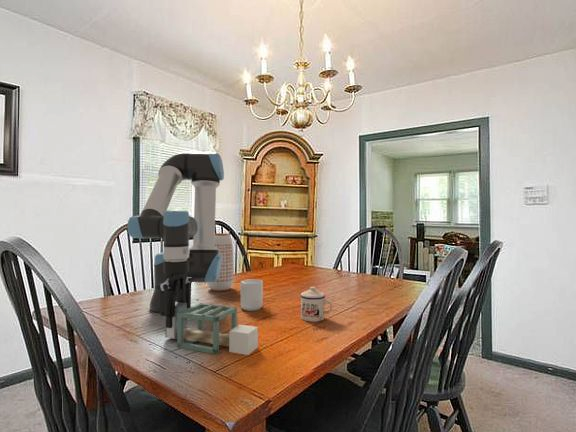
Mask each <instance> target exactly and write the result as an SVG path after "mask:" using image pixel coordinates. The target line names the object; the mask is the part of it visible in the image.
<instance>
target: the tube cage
mask: <svg viewBox="0 0 576 432" xmlns="http://www.w3.org/2000/svg"><path fill="white" fill-rule="evenodd" d="M230 315H231V316H230ZM229 316H230V317H231V321H230V322H231V325H230V326H231V330H232V329H233V328H235V327H237V326H238V308H237V306H229V305H219V304H212V303H202V302H200V303H197V304H195V305H192V306H191V307H190V308H187V309H185V310H182V311H180V312H178V313H177V339H176V340H177V347H176V348H177V349H178V348H179V349H185V350H191V351H196V352H201V353H208V354H214V355H218V354H219V353H220V345H219V333H220V321H221V320H223V319H225V318H226V317H227V318H228V317H229ZM183 317H184V318H187V319H193V320H197V330H201V331H205V330H204V329H205V328H204V322H205V321H207V322H212V332H213V344H212V346H207V345H201V344H199V343H201V342H200V341H193V342H191V343H188V342H184V339H183Z"/></svg>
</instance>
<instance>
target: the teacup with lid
mask: <svg viewBox="0 0 576 432" xmlns="http://www.w3.org/2000/svg"><path fill="white" fill-rule="evenodd" d="M325 298H326V293H324V292H322V291H319V290H318V289H316V286H310V288H309V289H308V290H305V291H303V292H301V294H300V310H301V311H300V312H301V313H300V319H302V320H303V321H305V322H310V323H311V322H314V323H317V322H321V321H324V319H325V315H327V314H329V313H331V311H333V307H334V306H333V303H332V301H330V300H329V299H325ZM325 303H328V304H329V306H330V307H329V310H327V311H325Z"/></svg>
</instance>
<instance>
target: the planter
mask: <svg viewBox="0 0 576 432" xmlns="http://www.w3.org/2000/svg"><path fill="white" fill-rule="evenodd" d="M215 246H216V247H217V248H218V253H220V254H221V255H222V265H221V271H220V275H219V277H218V279H217V280H216V281H215V282H206V284H207V285H208V287H209V288H210V289H211V291H212V292H226V291H229V290H230V288H232V286H233V285H234V280H235V271H234V270H235V269H234V268H235V267H234V264H235V263H234V248H233V239H232V236H231V235H230V233H227V232H226V233H225V232H223V233H221V232H219V233H216V232H215Z"/></svg>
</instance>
